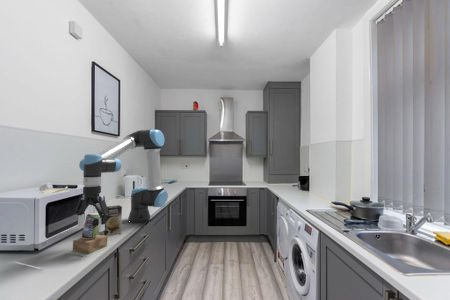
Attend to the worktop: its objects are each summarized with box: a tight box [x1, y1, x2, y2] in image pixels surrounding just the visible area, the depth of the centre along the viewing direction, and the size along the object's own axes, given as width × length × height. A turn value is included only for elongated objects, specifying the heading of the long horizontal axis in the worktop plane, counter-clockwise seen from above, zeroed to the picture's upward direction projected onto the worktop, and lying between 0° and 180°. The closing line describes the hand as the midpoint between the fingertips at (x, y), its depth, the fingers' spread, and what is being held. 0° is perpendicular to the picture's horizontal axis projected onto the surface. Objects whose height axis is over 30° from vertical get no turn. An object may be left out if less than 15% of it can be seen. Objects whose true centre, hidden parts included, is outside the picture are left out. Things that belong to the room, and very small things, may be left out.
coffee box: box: [101, 204, 123, 237], centre depth 127 cm, size 9×6×16 cm
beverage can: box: [81, 212, 100, 239], centre depth 105 cm, size 6×7×12 cm
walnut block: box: [72, 233, 108, 254], centre depth 105 cm, size 10×10×5 cm
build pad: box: [65, 243, 114, 258], centre depth 105 cm, size 14×14×1 cm
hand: (91, 229), depth 105 cm, fingers open, 13 cm apart
